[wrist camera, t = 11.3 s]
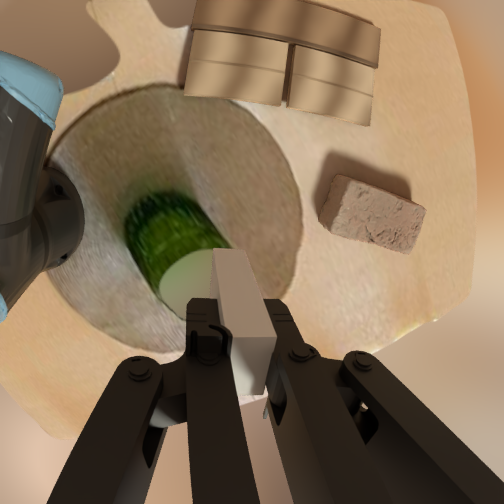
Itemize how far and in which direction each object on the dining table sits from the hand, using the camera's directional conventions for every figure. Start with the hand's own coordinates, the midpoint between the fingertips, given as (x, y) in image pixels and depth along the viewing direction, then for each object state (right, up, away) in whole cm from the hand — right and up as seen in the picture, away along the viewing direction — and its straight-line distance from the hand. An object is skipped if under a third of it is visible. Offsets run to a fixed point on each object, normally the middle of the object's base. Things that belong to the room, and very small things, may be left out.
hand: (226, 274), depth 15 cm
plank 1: (-1, +24, +18) cm, 30 cm away
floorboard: (+7, +32, +16) cm, 36 cm away
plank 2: (+12, +23, +20) cm, 33 cm away
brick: (+20, +7, +30) cm, 37 cm away
